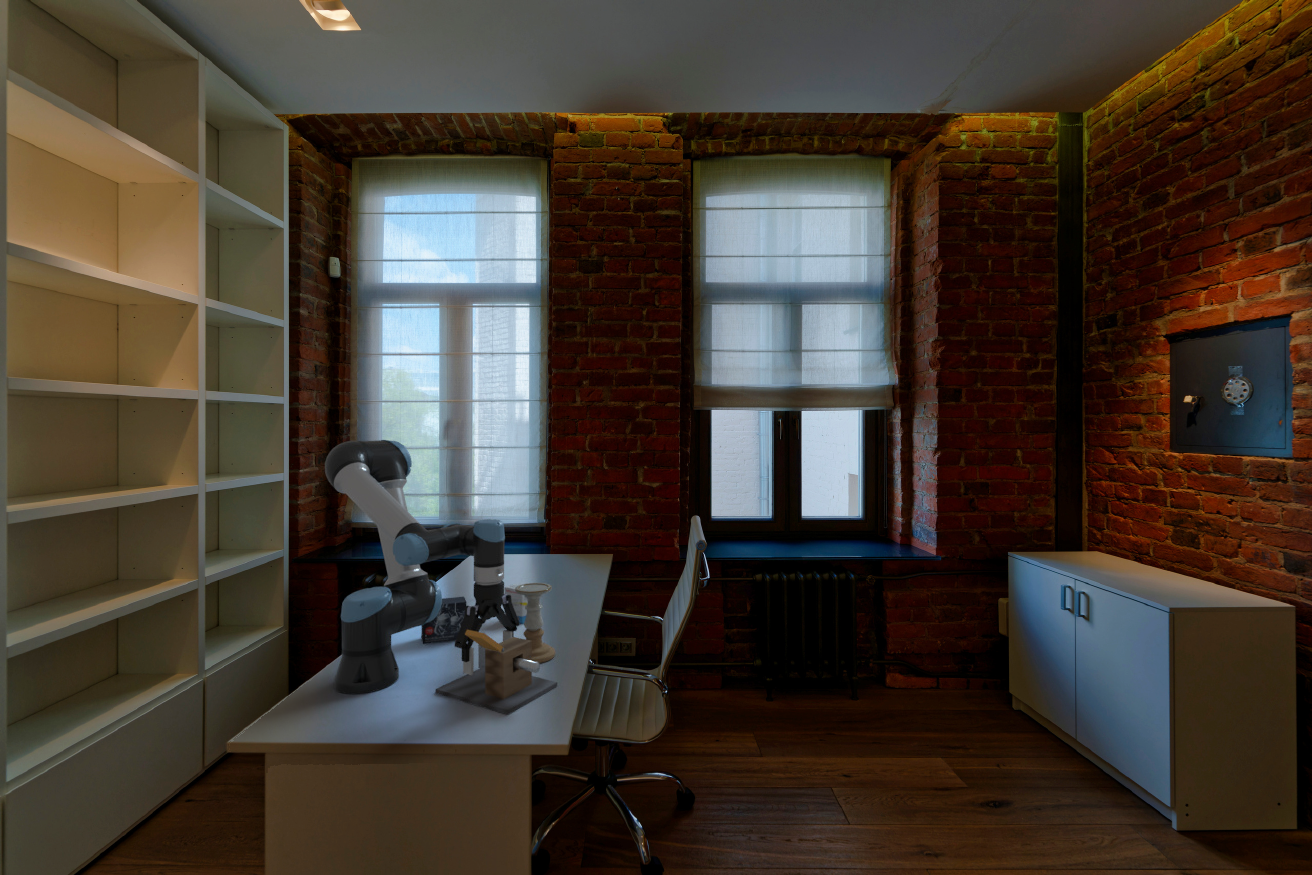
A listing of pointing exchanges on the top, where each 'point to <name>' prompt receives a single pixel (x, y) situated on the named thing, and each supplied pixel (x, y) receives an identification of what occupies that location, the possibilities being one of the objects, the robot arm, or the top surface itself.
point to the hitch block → (500, 680)
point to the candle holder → (535, 620)
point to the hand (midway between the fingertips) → (488, 664)
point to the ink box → (517, 602)
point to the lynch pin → (517, 662)
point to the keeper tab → (484, 640)
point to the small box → (445, 622)
